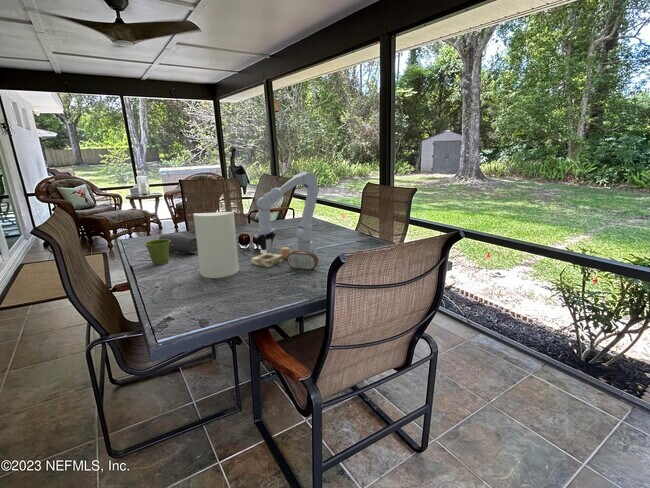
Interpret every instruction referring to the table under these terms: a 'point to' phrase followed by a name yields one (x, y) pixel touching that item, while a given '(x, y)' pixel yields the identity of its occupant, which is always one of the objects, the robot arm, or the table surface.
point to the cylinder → (216, 244)
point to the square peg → (267, 247)
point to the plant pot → (158, 250)
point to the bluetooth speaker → (181, 243)
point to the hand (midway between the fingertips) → (266, 248)
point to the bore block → (267, 259)
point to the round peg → (285, 252)
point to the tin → (302, 260)
